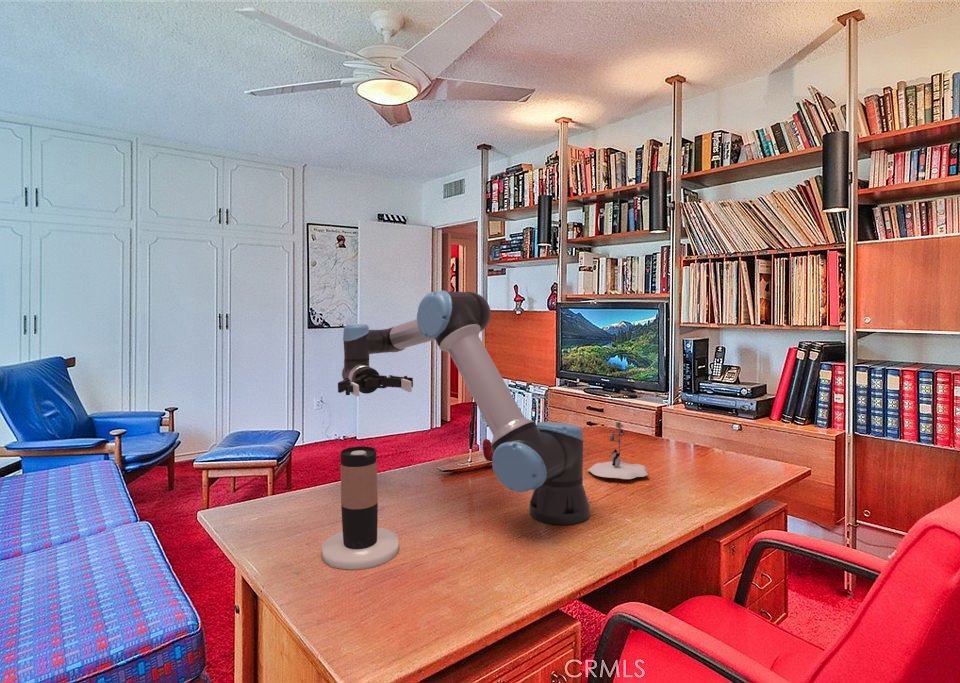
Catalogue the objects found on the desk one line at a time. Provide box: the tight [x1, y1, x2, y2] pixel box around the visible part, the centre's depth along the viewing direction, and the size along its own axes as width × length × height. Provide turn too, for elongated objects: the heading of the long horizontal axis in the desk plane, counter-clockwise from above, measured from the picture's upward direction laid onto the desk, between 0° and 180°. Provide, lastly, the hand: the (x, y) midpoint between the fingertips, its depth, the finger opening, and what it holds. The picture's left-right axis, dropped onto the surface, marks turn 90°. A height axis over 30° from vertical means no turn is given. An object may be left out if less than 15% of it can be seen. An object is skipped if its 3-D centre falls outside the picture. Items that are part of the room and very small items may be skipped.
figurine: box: [587, 421, 649, 480], centre depth 166 cm, size 20×18×16 cm
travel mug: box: [340, 445, 379, 549], centre depth 113 cm, size 8×8×20 cm
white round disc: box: [321, 526, 400, 571], centre depth 114 cm, size 16×16×2 cm
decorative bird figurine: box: [482, 438, 494, 467], centre depth 177 cm, size 3×18×10 cm, turn 158°
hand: (384, 388), depth 134 cm, fingers open, 13 cm apart
